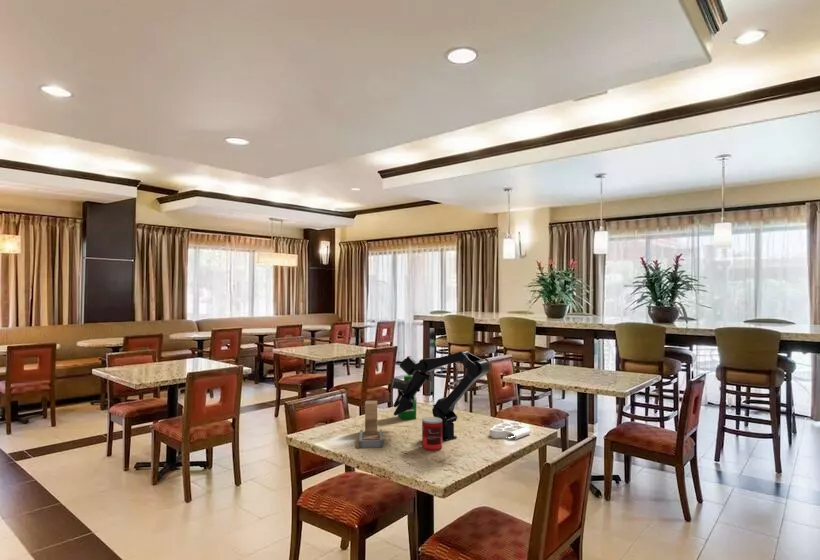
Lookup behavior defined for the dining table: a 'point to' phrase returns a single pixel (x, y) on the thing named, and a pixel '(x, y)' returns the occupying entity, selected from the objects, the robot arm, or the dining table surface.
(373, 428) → the block
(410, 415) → the milk carton
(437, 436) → the canned food
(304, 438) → the dining table surface
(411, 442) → the dining table surface
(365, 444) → the gray u-shaped bracket
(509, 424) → the white egg tray
